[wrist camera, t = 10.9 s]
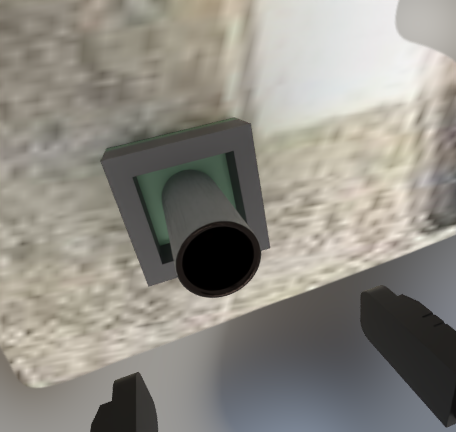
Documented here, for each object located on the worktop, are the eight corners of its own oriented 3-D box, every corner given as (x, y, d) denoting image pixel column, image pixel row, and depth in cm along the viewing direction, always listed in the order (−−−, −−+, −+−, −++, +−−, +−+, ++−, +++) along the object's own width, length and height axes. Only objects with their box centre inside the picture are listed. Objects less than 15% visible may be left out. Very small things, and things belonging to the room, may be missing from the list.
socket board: (106, 148, 23) (100, 161, 19) (234, 117, 25) (250, 123, 21) (147, 260, 27) (148, 286, 24) (254, 227, 29) (270, 248, 25)
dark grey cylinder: (199, 157, 24) (237, 204, 15) (227, 203, 26) (275, 268, 17) (149, 188, 24) (157, 254, 15) (181, 232, 26) (204, 313, 17)
